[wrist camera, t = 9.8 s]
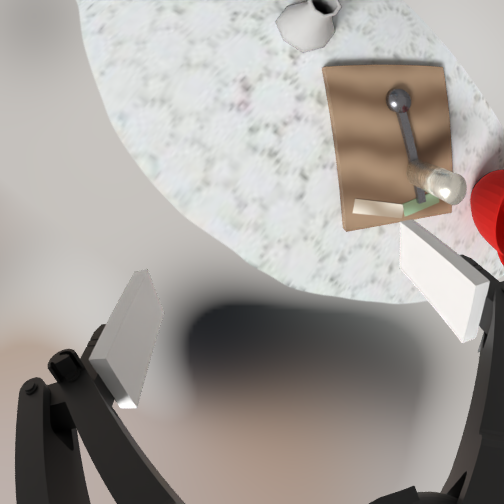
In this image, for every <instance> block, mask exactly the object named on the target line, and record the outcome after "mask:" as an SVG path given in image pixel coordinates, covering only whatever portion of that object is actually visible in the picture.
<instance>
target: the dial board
mask: <svg viewBox="0 0 504 504" xmlns="http://www.w3.org/2000/svg"><path fill="white" fill-rule="evenodd" d="M322 72H323V77H324V83H325V88H326V94H327V100H328V106H329V112H330V119H331V125H332V132H333V139H334V147H335V154H336V163H337V171H338V180H339V189H340V199H341V210H342V222H343V229H344V230H345V231H346V232H348V231H353V230H359V229H364V228H370V227H375V226H381V225H386V224H391V223H397V222H400V221H406V220H411V219H419V218H424V217H430V216H435V215H441V214H446V213H452V205H450V204H448V203H447V202H445V201H443V200H441V199H439V198H437V197H436V196H434V195H432V194H430V193H428V192H426V191H425V197H426V202H423V203H421V204H419V203H417V201H416V195H415V190H414V185H413V184H411V183H410V182H409V181H408V179H407V175H406V171H407V167H408V165H409V161H408V157H407V152H406V148H405V144H404V140H403V136H402V133H401V129H400V125H399V121H398V118H397V114H396V112H393V111H391V110H390V109H389V108H388V106H387V104H386V95H387V93H388V92H389V91H390V90H393V89H403V90H405V91H406V92H407V93H408V94H409V96H410V98H411V107H410V109H409V110H408V111H407V116H408V119H409V123H410V127H411V131H412V135H413V139H414V143H415V147H416V151H417V156H418V160H422V161H424V162H427V163H430V164H433V165H435V166H438V167H441V168H443V169H446V170H449V171H451V172H452V149H451V132H450V119H449V108H448V99H447V91H446V84H445V77H444V70H443V67H434V66H418V65H347V66H330V67H324V68H322Z"/></svg>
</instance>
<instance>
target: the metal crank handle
mask: <svg viewBox="0 0 504 504" xmlns="http://www.w3.org/2000/svg"><path fill="white" fill-rule="evenodd" d="M386 104H387V106H388V108H389V109H390V110H391V111H393V112H396V114H397V118H398V121H399V125H400V129H401V133H402V136H403V140H404V144H405V148H406V152H407V157H408V161H409V165H408V167H407V171H406V175H407V179H408V181H409V182H410V183H411V184H413V185H414V190H415V195H416V201H417V203H419V204H421V203H423V202H426V197H425V191H426V192H428V193H430V194H432V195H434V196H436V197H437V198H439V199H441V200H443V201H445V202H447V203H448V204H450V205H457V204H459V203H460V202H461V201H462V200H463V199H464V197H465V194H466V188H467V187H466V182H465V179H464V178H463V177H462V176H461V175H459V174H456V173H454V172H451V171H449V170H446V169H443V168H441V167H438V166H435V165H433V164H430V163H427V162H424V161H422V160H418V156H417V151H416V147H415V143H414V139H413V135H412V131H411V127H410V123H409V119H408V116H407V111H408V110H409V109H410V107H411V98H410V96H409V94H408V93H407V92H406V91H405V90H403V89H393V90H390V91H389V92H388V93H387V95H386Z"/></svg>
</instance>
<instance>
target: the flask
mask: <svg viewBox="0 0 504 504" xmlns="http://www.w3.org/2000/svg"><path fill="white" fill-rule="evenodd" d="M340 9H341V5H340V2H339V0H308V2H303V3H299V4H295V5H290V6H287V7H286V8H285V10H284V11H283V12H282V13H281V15H280V16H279V17H278V19H277V20H276V21H275V22H276V25H277V27H278V29H279V31H280V33H281V36H282V38H283V40H284V41H285V42H287V43H288V44H290V45H292V46H293V47H295V48H297V49H298V50H300V51H301V52H303V53H304V52H308V51H311V50H315V49H319V48H323V47H325V45H326V44H327V42H328V41H329V40H330V38H331V37H332V35H333V34H334V33H335V29H334V26H333V21H332V16H335V15H336V14H337V13H338V11H339V10H340Z"/></svg>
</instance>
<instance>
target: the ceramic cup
mask: <svg viewBox="0 0 504 504" xmlns="http://www.w3.org/2000/svg"><path fill="white" fill-rule="evenodd" d="M470 200H471V211H472V217H473V220H474V223H475V225H476V227H477V229H478V231H479V232H480V234H481V235H482V236H483V237H484V239H485V240H486V241H487V242H488V243H489V244H490V245H491V246H492V247H493V248H494V249H496V250H497V252H498V256H499V258H500V260H501V262H502V264H503V265H504V169H503V170H496V171H493V172H490V173H488V174H487V175H485V176H484V177H483V178H482V179H480V181H479V182H477V184H476V185H475V186H474V188H473V190H472V194H471V199H470Z"/></svg>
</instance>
